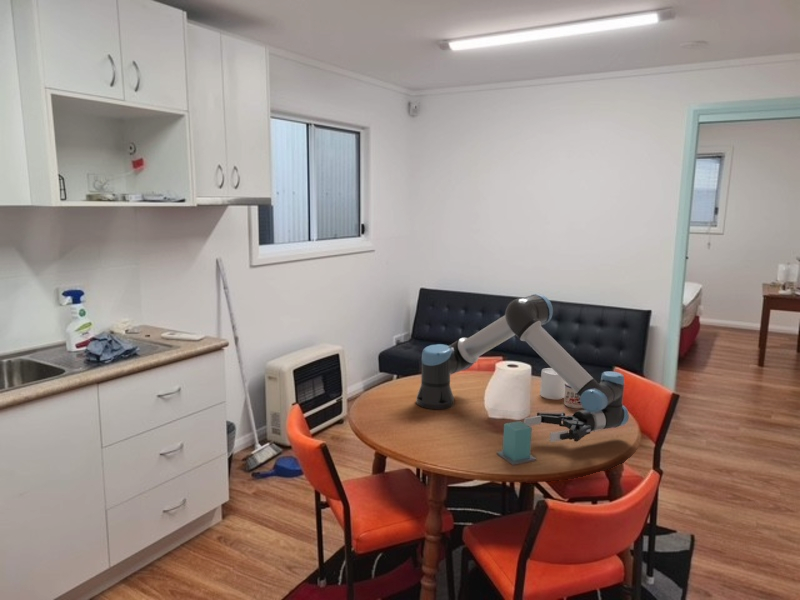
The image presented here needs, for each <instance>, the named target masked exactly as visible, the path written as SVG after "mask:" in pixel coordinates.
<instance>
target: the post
mask: <svg viewBox="0 0 800 600" xmlns="http://www.w3.org/2000/svg"><path fill="white" fill-rule="evenodd" d="M496 454H497V456H499V457H501V459H504V460H505V461H506V462H508V463H509V464H511V465H512V466H515V465H520V464H525V463H530V462H535V461H537V457H535V456H533V455H532V454H530V458H525V459H520V460H515V461H514V460H512V459H511V458H509V457H508V456H506V455H505V454H504V453H503V450H500V451H496Z"/></svg>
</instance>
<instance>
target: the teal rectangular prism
mask: <svg viewBox="0 0 800 600" xmlns="http://www.w3.org/2000/svg"><path fill="white" fill-rule="evenodd" d="M532 430H533V428H532V427H531V426H528V425H526V424H524V422H523V421H521V420H519V421H513V422H506V423H504V424H503V440H502V442H503V443H502V451H503V453H504V454H505V455H506V456H508V457H509V458H511V459H512V460H514V461H515V460H520V459H525V458H530V455H531V446H532Z"/></svg>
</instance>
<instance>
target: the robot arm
mask: <svg viewBox="0 0 800 600" xmlns="http://www.w3.org/2000/svg"><path fill="white" fill-rule="evenodd" d="M553 314H554V308H553V305H552V302H551V300H549V298H548V297H546V296H544V295H542V294H531V295H528V296H523V297H519V298H515V299H514V300H511V301H510V302H509V303H508V304H507V307H506V309H505V313H504V315H503V316H501V317H499V318H497V320H495V321H493V322H492V323H490V324H488V325H487V326H486V327H484V328H482V329H481V330H479V331H477V332H475V333H474V334H473V335H471V336H469V337H461V338H459V339H457V340H456V341H455V342H453V343H451V344H449V345H447V344H442V343H437V344H430V345H428V346H426V347H424V348H423V350H422V353H421V375H420V376H421V382H420V383H421V384H420V387H419V390H418V392H417V396H416V404H417V405H418V406H419V407H421V408H424V409H429V410H446V409H449V408H451V407H453V406H454V403H455V398H454V394H453V392H452V388H451V375H452V374H456V373H459V372H462V371H466V370H468V369H470V368H471V367H472V366H473V365H474V364H475V363H477V362H478V361H479V358H480V356H482V355H483V354H485V353H487V352H489V351H490V350H492V349H494V348H495V347H497V346H499V345H500V344H502V343H504V342H506V341H507V340H509V339H511V338H513V337H514V336H516V337H517V338H518V339H519V340H520V341H522V342H525V343H527V344H528V346H529V347H530V348H532V349H533V350H534V351H535V352H536V353H537V354H538V355H539V357H540V358H541V359H543V360H544V361H545V362H546V364H547V365H548V366H549V368H552V369H553V370H554V371H555V372H556V373H557V374H558V375H559V376H560V377H561V378H562V379H563V380H564V381H565V382H566V383H567V384H568V385H569V386H570V387H571V388H572V389H573V390H574V391H575V392H576V393H577V394H578V395H579V396H580V402H581V405H582V407H583V408H582V410H576V411H575V412H573V414H572V415H566V413H565V412H559V413H558V412H537V413H536V416H531V417H524V418H523V423H524V424H526V425H528V426H529V427H531V426H536V425H541V424H542V423H543V424H550V425H558V426H559V427H565V428H567V429H566V430H560V431H554V432H549V442H551V443H553V442H559V441H564V440H573V442H576V443H577V442H579V441H580V440H581V439H583V438H584V437H585V436H587V435H590V434H591V432H594V433H595V432H596V431H601V430H607V429H612V428H618V427H621V426H625V425H626V424H627V423H628V421H629V420H630V419H629V418H630V414H629V411H628V409H627V407H626V406H625V405H623V402H624V399H623V398H624V393H625V392H624V390H625V375H623V374H622V373H620V372H619V371H618V372H617V371H611V370H610V371H603V372H602V373H601V378H600V382H598V381H597V380H596V379H595V378H594V377H593V376H591V374H589V373H588V371H587V370H586V369H584V367H582V365H580V363H579V362H578V361H577V360H576V359H575V358H574V357H573V356H571V355H570V353H568V352H567V350H566V349H564V347H562V346H561V344H559V342H557V340H556V339H554V338H553V336H552V335H550V334H549V332H547V330H546V329H545V328H544V327H543V326H544V325H546V324H547V323H549V322H550V321H551V320H552V317H553Z"/></svg>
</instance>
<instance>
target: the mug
mask: <svg viewBox="0 0 800 600" xmlns="http://www.w3.org/2000/svg"><path fill="white" fill-rule="evenodd" d="M540 373H541V374H540V391H539V395H540V396H541V397H543V398H545V399H548V400H561V399H562V398H563V399H564V396H565V381H564V380H563V379H562V378H561V377H560V376H559V375H558V374H557V373H556V372H555V371H554V370H553V369H552V368H551V367H547V368H545V367H544V368H542V369H541V372H540ZM563 399H562V400H563Z"/></svg>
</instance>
